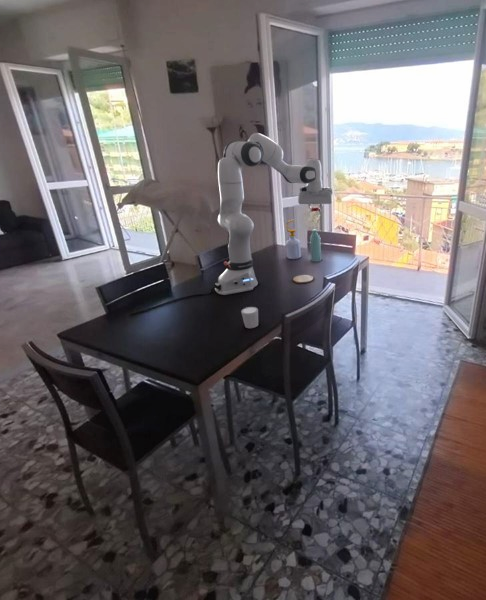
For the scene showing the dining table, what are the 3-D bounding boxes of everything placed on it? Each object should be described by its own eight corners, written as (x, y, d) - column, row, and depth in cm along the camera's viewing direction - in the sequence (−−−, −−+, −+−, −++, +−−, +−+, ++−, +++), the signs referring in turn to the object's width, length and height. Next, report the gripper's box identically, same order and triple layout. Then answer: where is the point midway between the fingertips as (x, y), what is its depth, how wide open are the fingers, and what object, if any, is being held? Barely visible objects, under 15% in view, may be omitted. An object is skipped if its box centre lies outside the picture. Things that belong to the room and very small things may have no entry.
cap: (311, 210, 213) (310, 207, 212) (318, 209, 214) (317, 206, 213) (312, 211, 210) (312, 208, 209) (319, 210, 210) (319, 207, 210)
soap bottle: (300, 259, 228) (297, 221, 218) (286, 259, 228) (282, 221, 218) (301, 254, 236) (299, 217, 226) (288, 255, 237) (285, 218, 226)
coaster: (299, 285, 188) (299, 283, 188) (289, 279, 197) (289, 277, 196) (317, 280, 194) (317, 278, 194) (307, 274, 202) (307, 273, 202)
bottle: (314, 262, 222) (312, 231, 213) (309, 259, 227) (307, 229, 218) (323, 260, 225) (321, 229, 217) (317, 257, 230) (316, 227, 222)
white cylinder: (253, 319, 154) (250, 305, 151) (263, 324, 150) (261, 309, 147) (240, 325, 149) (237, 311, 146) (250, 330, 145) (248, 315, 142)
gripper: (332, 186, 210) (333, 210, 216) (298, 187, 212) (300, 210, 217) (332, 188, 205) (332, 212, 210) (296, 188, 206) (298, 212, 212)
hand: (315, 211), depth 214 cm, fingers closed on cap, 3 cm apart
